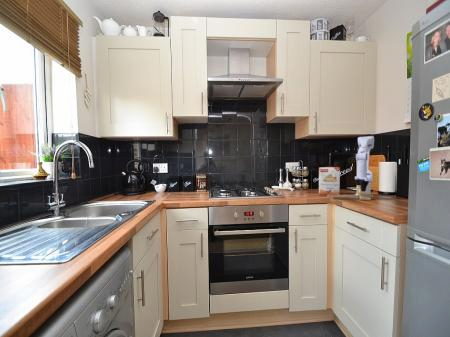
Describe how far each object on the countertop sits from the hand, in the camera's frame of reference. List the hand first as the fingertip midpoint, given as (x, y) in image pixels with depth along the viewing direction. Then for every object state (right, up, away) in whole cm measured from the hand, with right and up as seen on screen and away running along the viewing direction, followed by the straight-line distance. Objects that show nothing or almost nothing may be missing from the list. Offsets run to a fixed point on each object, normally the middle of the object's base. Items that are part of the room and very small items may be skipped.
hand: (361, 190), depth 146 cm
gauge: (0, -5, 0) cm, 5 cm away
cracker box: (-11, -5, +23) cm, 26 cm away
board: (-7, -5, +4) cm, 9 cm away
